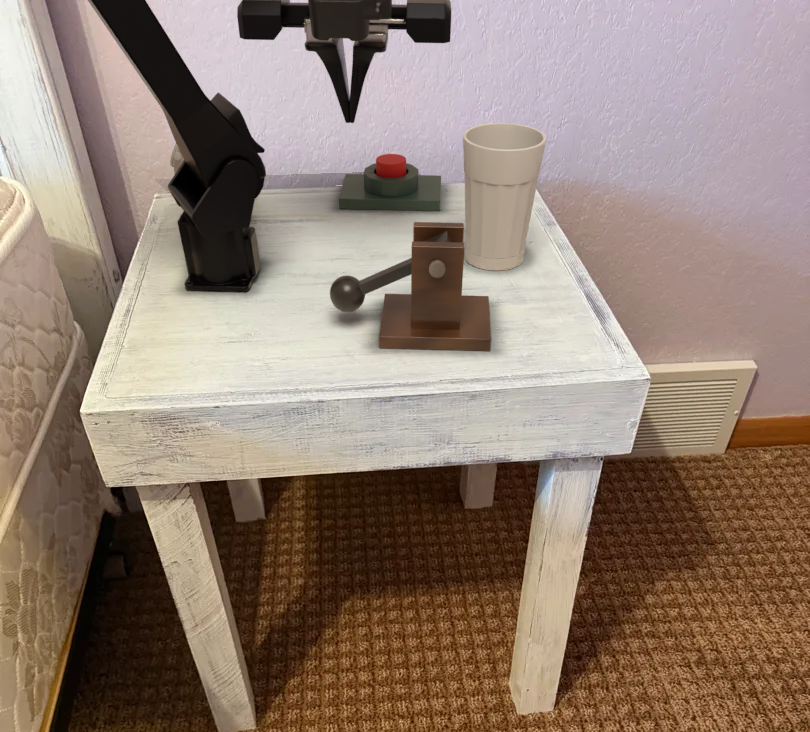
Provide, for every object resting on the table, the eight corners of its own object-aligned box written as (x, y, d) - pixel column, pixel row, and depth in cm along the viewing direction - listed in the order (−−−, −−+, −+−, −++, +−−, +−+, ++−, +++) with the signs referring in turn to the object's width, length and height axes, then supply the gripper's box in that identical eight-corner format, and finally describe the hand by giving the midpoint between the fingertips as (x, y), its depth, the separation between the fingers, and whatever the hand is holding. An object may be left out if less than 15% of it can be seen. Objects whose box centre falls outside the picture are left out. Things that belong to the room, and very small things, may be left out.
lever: (338, 323, 70) (321, 294, 68) (342, 306, 72) (325, 277, 70) (459, 272, 66) (444, 239, 64) (459, 256, 68) (445, 223, 66)
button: (375, 179, 90) (374, 164, 89) (377, 168, 93) (377, 153, 91) (405, 180, 90) (405, 164, 89) (406, 169, 93) (406, 153, 91)
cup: (528, 277, 78) (543, 153, 70) (451, 270, 79) (457, 147, 71) (534, 244, 84) (549, 125, 75) (462, 238, 85) (469, 120, 76)
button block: (339, 208, 91) (337, 182, 89) (346, 183, 96) (344, 158, 94) (439, 210, 90) (440, 184, 88) (440, 185, 96) (441, 160, 94)
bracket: (379, 348, 69) (376, 253, 62) (385, 304, 74) (383, 213, 68) (490, 351, 68) (498, 256, 62) (487, 307, 74) (495, 216, 68)
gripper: (211, -73, 58) (240, 148, 69) (457, -69, 57) (446, 152, 69) (237, -90, 66) (260, 110, 77) (454, -87, 65) (445, 114, 76)
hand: (350, 121), depth 74 cm, fingers closed
